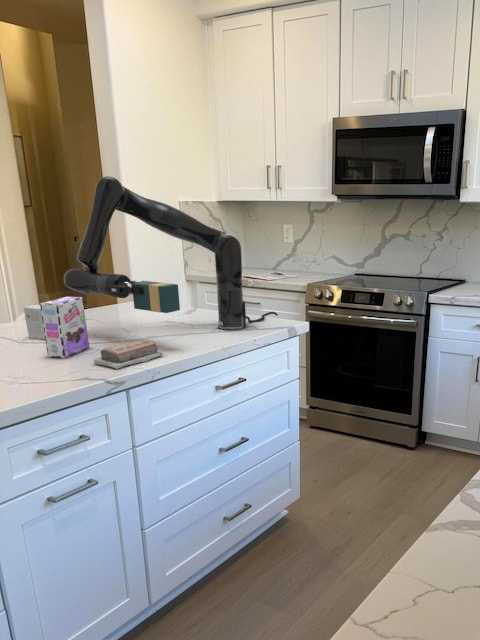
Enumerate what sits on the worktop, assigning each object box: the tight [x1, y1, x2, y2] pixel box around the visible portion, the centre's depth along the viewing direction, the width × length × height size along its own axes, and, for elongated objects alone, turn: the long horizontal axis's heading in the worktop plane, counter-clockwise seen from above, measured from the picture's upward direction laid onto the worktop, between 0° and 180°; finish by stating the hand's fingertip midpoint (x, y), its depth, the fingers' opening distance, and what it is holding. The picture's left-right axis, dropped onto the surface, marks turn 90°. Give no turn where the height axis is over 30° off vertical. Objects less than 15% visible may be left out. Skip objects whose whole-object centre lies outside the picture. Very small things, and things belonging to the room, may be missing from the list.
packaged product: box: [93, 339, 164, 370], centre depth 180 cm, size 18×5×10 cm
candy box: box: [39, 296, 90, 359], centre depth 186 cm, size 14×6×16 cm, turn 168°
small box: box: [23, 304, 46, 341], centre depth 206 cm, size 8×6×10 cm
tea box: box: [132, 280, 181, 314], centre depth 191 cm, size 14×6×8 cm, turn 59°
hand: (150, 289), depth 191 cm, fingers closed on tea box, 6 cm apart
